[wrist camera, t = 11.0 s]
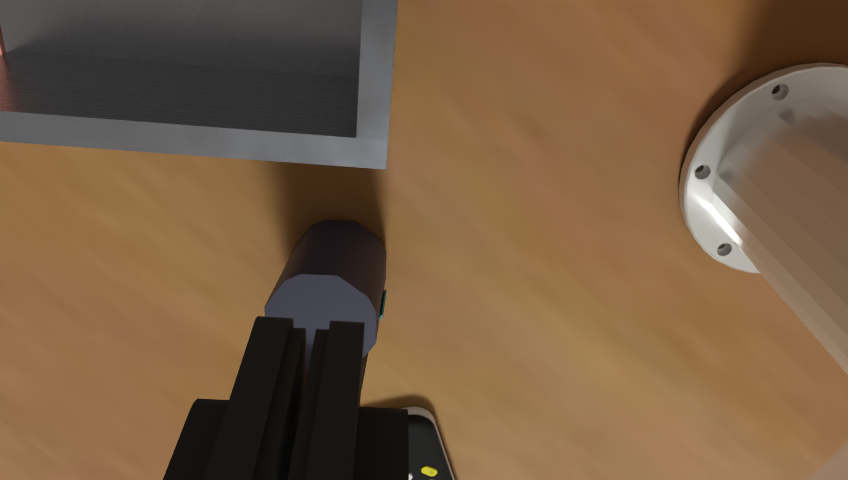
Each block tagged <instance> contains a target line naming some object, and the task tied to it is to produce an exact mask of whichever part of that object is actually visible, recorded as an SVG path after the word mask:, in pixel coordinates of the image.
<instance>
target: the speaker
mask: <svg viewBox="0 0 848 480" xmlns="http://www.w3.org/2000/svg"><path fill="white" fill-rule="evenodd" d="M385 280H386V250H385V249H384V247H383V245H382V243H381V241H380V239H379V238H378V237H376V236H375V235H374V234H372V233H371V232H369V231H368V230H367V229H365V228H364V227H362V226H361V225H360V224H358V223H357V222H356V221H339V220H324V221H321V222H319V223H317V224H315V225H312V226H311V227H310V229H309V230H308V231H307V233H306V234H305V235H304V236H303V238H302V239H301V240H300V242H299V243H298V244H297V246H296V247H295V249H294V250H293V252H292V254H291V256H290V258H289V260H288V262H287V264H286V266H285V268H284V270H283V272H282V274H281V276H280V278H279V280H278V282H277V284H276V286H275V288H274V289H273V291H272V293H271V295H270V297H269V299H268V301H267V303H266V305H265V317H280V318H292V319H293V322H294V328H305V329H306V379H307V374H308V368H309V363H310V358H311V352H312V347H313V342H314V336H315V331H316V329H327V330H329V325H330V321H331V320H332V321H349V322H365V329H364V346H363V363H362V379H361V389H362V384H363V378H364V373H365V367H366V362H367V357H368V352H369V351H370V350H371V348H372V347H373V346H374V345H375V344H376V338H377V332H378V325H379V320H380V319H381V318H382V317H383V313H384V305H385V298H386V290H385V291H384V287H385Z"/></svg>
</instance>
